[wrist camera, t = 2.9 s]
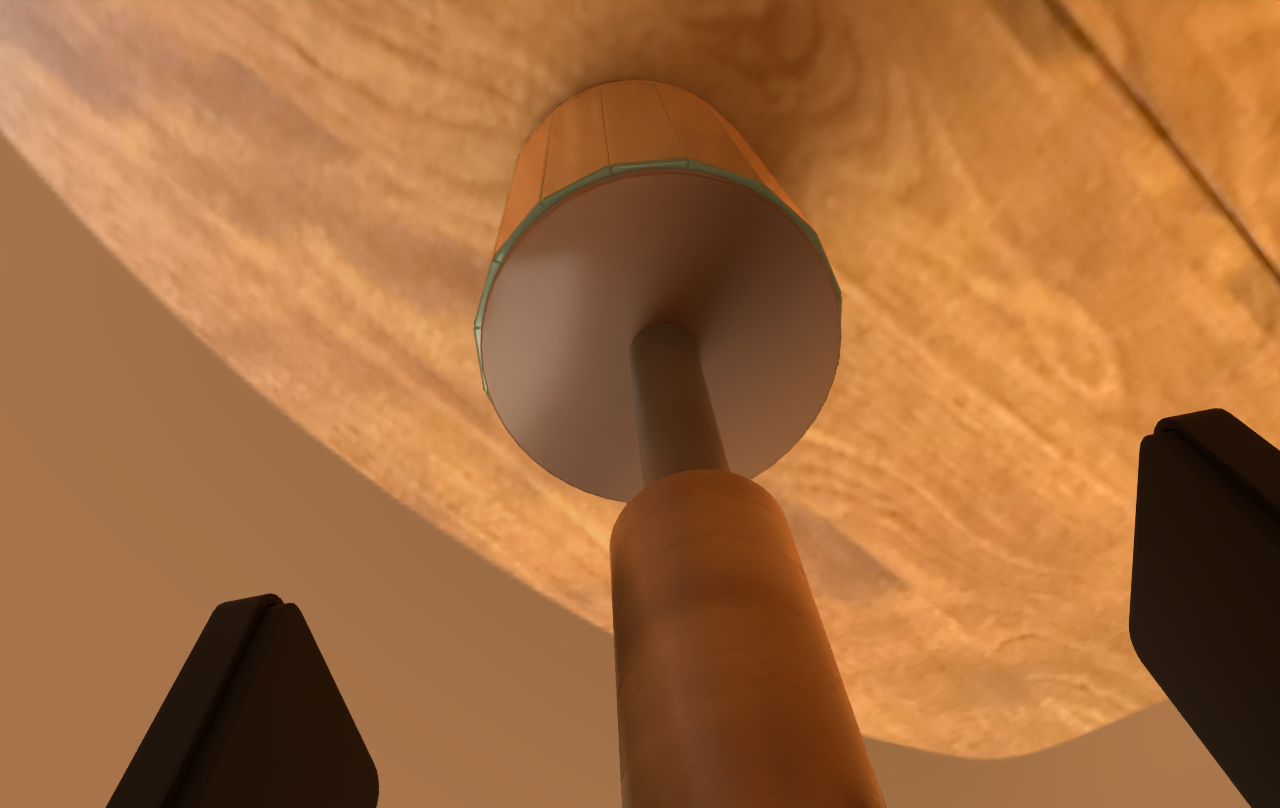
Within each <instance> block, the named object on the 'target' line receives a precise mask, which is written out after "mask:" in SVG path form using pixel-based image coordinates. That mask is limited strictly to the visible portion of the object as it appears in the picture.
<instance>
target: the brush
mask: <svg viewBox="0 0 1280 808" xmlns="http://www.w3.org/2000/svg"><path fill="white" fill-rule="evenodd" d="M840 346H841V315H840V310H839V304H838V298H837V294H836V291H835V288H834V285H833V282H832V279H831V276H830V273H829V271H828V269H827V267H826V265H825V263H824V261H823V259H822V257H821V255H820V253H819V252H818V251H817V249H816V248H815V246H814V245H813V244H812V242H811V241H810V239H809V238H808V237H807V235H806V234H805V232H804V231H803V230H802V229H801V228H800V226H799V225H798V224H797V223H796V222H795V221H794V220H793V219H792V218H791V217H790V216H789V215H788V214H787V213H786V212H785V211H784V210H782V209H781V208H780V207H778V206H777V205H776V204H775V203H773V202H772V201H771V200H770V199H768V198H767V197H765V196H763V195H761V194H760V193H758V192H756V191H755V190H753V189H751V188H749V187H748V186H745V185H743V184H740V183H738V182H736V181H733V180H731V179H728V178H726V177H722V176H719V175H715V174H711V173H707V172H703V171H697V170H689V169H680V168H649V169H642V170H635V171H629V172H623V173H620V174H616V175H613V176H609V177H606V178H602V179H599V180H597V181H595V182H592V183H590V184H588V185H585V186H583V187H581V188H579V189H576V190H575V191H573V192H571V193H570V194H568V195H566V196H565V197H563V198H561V199H560V200H558V201H557V202H555V203H554V204H553V205H551V206H550V207H549V208H548V209H546V210H545V211H544V212H543V213H541V214H540V215H539V216H538V217H536V218H535V219H534V220H533V221H532V223H531V224H530V225H529V226H528V227H527V228H526V229H525V230H524V231H523V232H522V233H521V234H520V235H519V237H518V238H517V239H516V241H515V242H514V244H513V245H512V246H511V248H510V249H509V250H508V252H507V253H506V255H505V257H504V259H503V260H502V262H501V264H500V266H499V268H498V270H497V272H496V274H495V276H494V279H493V282H492V285H491V287H490V290H489V293H488V296H487V299H486V304H485V309H484V314H483V319H482V324H481V338H480V352H481V363H482V371H483V375H484V379H485V383H486V388H487V391H488V394H489V396H490V399H491V401H492V404H493V406H494V409H495V411H496V413H497V414H498V416H499V418H500V420H501V421H502V423H503V425H504V427H505V428H506V430H507V431H508V432H509V434H510V435H511V436H512V438H513V439H514V440H515V442H516V443H517V444H518V445H519V446H520V447H521V448H522V449H523V450H524V451H525V452H526V453H527V454H528V455H529V456H530V457H531V458H532V459H533V460H534V461H535V462H536V463H537V464H539V465H540V466H541V467H543V468H544V469H545V470H546V471H548V472H549V473H550V474H552V475H554V476H555V477H557V478H559V479H560V480H562V481H564V482H565V483H567V484H569V485H571V486H573V487H576V488H578V489H580V490H582V491H585V492H587V493H590V494H593V495H596V496H600V497H603V498H606V499H610V500H615V501H621V502H626V503H628V504H627V505H626V506H625V507H624V509H623V510H622V512H621V513H620V515H619V516H618V519H617V521H616V523H615V525H614V528H613V531H612V534H611V540H610V566H611V587H612V608H613V629H614V649H615V670H616V690H617V711H618V731H619V754H620V775H621V795H622V808H886V805H885V802H884V799H883V797H882V794H881V791H880V788H879V785H878V782H877V779H876V776H875V774H874V771H873V768H872V765H871V762H870V759H869V756H868V753H867V750H866V748H865V745H864V742H863V739H862V736H861V733H860V730H859V727H858V725H857V722H856V719H855V716H854V713H853V710H852V707H851V704H850V702H849V699H848V696H847V693H846V690H845V687H844V684H843V681H842V679H841V676H840V673H839V670H838V667H837V664H836V661H835V658H834V655H833V653H832V650H831V647H830V644H829V641H828V638H827V635H826V632H825V630H824V627H823V624H822V621H821V618H820V615H819V612H818V609H817V607H816V604H815V601H814V598H813V595H812V592H811V589H810V586H809V584H808V581H807V578H806V575H805V572H804V569H803V566H802V563H801V560H800V558H799V555H798V552H797V549H796V546H795V543H794V540H793V537H792V535H791V532H790V529H789V526H788V523H787V520H786V518H785V515H784V513H783V511H782V509H781V507H780V506H779V504H778V503H777V501H776V500H775V499H774V498H773V497H772V495H771V494H770V493H768V492H767V491H766V490H765V489H764V488H763V487H761V486H760V485H758V484H756V483H755V482H753V481H752V480H751V479H753V478H754V477H756V476H757V475H759V474H760V473H762V472H763V471H765V470H766V469H768V468H769V467H771V466H772V465H773V464H775V463H776V462H777V461H778V460H779V459H781V458H782V457H783V456H784V455H785V454H786V453H788V452H789V451H790V450H791V449H792V447H793V446H794V445H795V444H796V443H797V442H798V441H799V440H800V439H801V438H802V437H803V435H804V434H805V433H806V431H807V430H808V429H809V427H810V426H811V425H812V423H813V422H814V420H815V419H816V417H817V415H818V414H819V412H820V410H821V408H822V406H823V405H824V403H825V401H826V399H827V396H828V394H829V391H830V389H831V386H832V384H833V381H834V378H835V374H836V370H837V366H838V362H839V356H840Z"/></svg>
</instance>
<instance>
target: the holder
mask: <svg viewBox="0 0 1280 808" xmlns="http://www.w3.org/2000/svg"><path fill="white" fill-rule="evenodd" d="M649 168H680V169H689V170H697V171H703V172H707V173H711V174H715V175H719V176H722V177H726V178H728V179H731V180H733V181H736V182H738V183H740V184H743V185H745V186H748V187H749V188H751V189H753V190H755V191H756V192H758V193H760V194H761V195H763V196H765V197H767V198H768V199H770V200H771V201H772V202H773V203H775V204H776V205H777V206H778V207H780V208H781V209H782V210H784V211H785V212H786V213H787V214H788V215H789V216H790V217H791V218H792V219H793V220H794V221H795V222H796V223H797V224H798V225H799V226H800V228H801V229H802V230H803V231H804V232H805V234H806V235H807V237H808V238H809V239H810V241H811V242H812V244H813V245H814V246H815V248H816V249H817V251H818V252H819V253H820V255H821V257H822V259H823V261H824V263H825V265H826V267H827V269H828V271H829V273H830V276H831V279H832V282H833V285H834V288H835V291H836V294H837V298H838V304H839V310H840V315H841V314H842V297H841V290H840V287H839V285H838V283H837V280H836V278H835V275H834V273H833V271H832V268H831V266H830V263H829V261H828V259H827V256H826V254H825V251H824V249H823V247H822V244H821V242H820V239H819V237H818V235H817V233H816V232H815V230H814V229H813V228H812V226H811V225H810V224H809V222H808V221H807V220H806V218H805V217H804V216H803V215H802V213H801V212H800V211H799V209H798V208H797V207H796V205H795V204H794V203H793V202H792V200H791V199H790V198H789V196H788V195H787V194H786V192H785V191H784V190H783V189H782V187H781V186H780V185H779V183H778V182H777V181H776V179H775V178H774V177H773V176H772V174H771V173H770V172H769V170H768V169H767V168H766V166H765V165H764V164H763V163H762V161H761V160H760V159H759V157H758V156H757V155H756V153H755V152H754V151H753V150H752V148H751V147H750V146H749V144H748V143H747V142H746V140H745V139H744V138H743V137H742V135H741V134H740V133H739V132H738V131H737V130H736V129H735V128H734V127H733V126H732V125H731V124H730V123H729V122H728V121H727V120H726V119H725V118H724V117H723V116H722V115H721V114H720V113H719V112H718V111H717V110H716V109H714V108H713V107H712V106H711V105H709V104H708V103H707V102H706V101H704V100H703V99H702V98H699V97H697V96H696V95H694V94H692V93H690V92H688V91H685V90H683V89H681V88H678V87H676V86H672V85H668V84H665V83H661V82H655V81H647V80H623V81H617V82H610V83H606V84H602V85H599V86H595V87H592V88H590V89H588V90H585V91H583V92H581V93H579V94H576V95H575V96H573V97H571V98H570V99H568V100H567V101H565V102H563V103H562V104H561V105H559V106H558V107H557V108H556V109H555V110H553V111H552V112H551V113H550V114H549V115H548V116H547V117H546V118H545V119H544V120H543V121H542V122H541V123H540V124H539V125H538V127H537V128H536V129H535V131H534V132H533V134H532V135H531V136H530V138H529V139H528V141H527V143H526V145H525V146H524V148H523V149H522V150H521V153H520V154H519V156H518V160H517V164H516V167H515V171H514V175H513V178H512V182H511V186H510V189H509V193H508V197H507V200H506V204H505V208H504V212H503V215H502V219H501V223H500V227H499V230H498V234H497V238H496V242H495V245H494V249H493V253H492V257H491V261H490V264H489V268H488V272H487V276H486V279H485V283H484V287H483V291H482V294H481V298H480V302H479V306H478V309H477V313H476V317H475V321H474V335H475V341H476V347H477V353H478V359H479V365H480V372H481V378H482V384H483V389H484V391H485V392H486V395H487V397H488V398H489V400H490V401H491V399H490V396H489V394H488V391H487V388H486V383H485V379H484V375H483V371H482V363H481V352H480V338H481V324H482V319H483V314H484V309H485V304H486V299H487V296H488V293H489V290H490V287H491V285H492V282H493V279H494V276H495V274H496V272H497V270H498V268H499V266H500V264H501V262H502V260H503V259H504V257H505V255H506V253H507V252H508V250H509V249H510V248H511V246H512V245H513V244H514V242H515V241H516V239H517V238H518V237H519V235H520V234H521V233H522V232H523V231H524V230H525V229H526V228H527V227H528V226H529V225H530V224H531V223H532V221H533V220H534V219H535V218H536V217H538V216H539V215H540V214H541V213H543V212H544V211H545V210H546V209H548V208H549V207H550V206H551V205H553V204H554V203H555V202H557V201H558V200H560V199H561V198H563V197H565V196H566V195H568V194H570V193H571V192H573V191H575V190H576V189H579V188H581V187H583V186H585V185H588V184H590V183H592V182H595V181H597V180H599V179H602V178H606V177H609V176H613V175H616V174H620V173H623V172H629V171H635V170H642V169H649ZM839 358H840V356H839ZM838 364H839V362H838ZM837 367H838V366H837ZM491 403H492V401H491Z"/></svg>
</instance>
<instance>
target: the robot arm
mask: <svg viewBox="0 0 1280 808" xmlns="http://www.w3.org/2000/svg"><path fill="white" fill-rule="evenodd" d="M1129 632H1130V637H1131V641H1132V644H1133V647H1134V649H1135V651H1136V653H1137V655H1138V657H1139V659H1140V660H1141V662H1142V663H1143V664H1144V666H1145V667H1146V668H1147V670H1148V671H1149V672H1150V674H1151V675H1152V676H1153V678H1154V679H1155V680H1156V682H1157V683H1158V684H1159V686H1160V687H1161V688H1162V690H1163V691H1164V692H1165V694H1166V695H1167V696H1168V698H1169V699H1170V700H1171V702H1172V703H1173V704H1174V706H1175V707H1176V708H1177V710H1178V711H1179V712H1180V713H1181V715H1182V716H1183V718H1184V719H1185V720H1186V721H1187V723H1188V724H1189V725H1190V727H1191V728H1192V729H1193V731H1194V732H1195V733H1196V735H1197V736H1198V737H1199V739H1200V740H1201V741H1202V743H1203V744H1204V745H1205V746H1206V748H1207V749H1208V751H1209V752H1210V753H1211V755H1212V756H1213V757H1214V759H1215V760H1216V761H1217V763H1218V764H1219V765H1220V767H1221V768H1222V769H1223V771H1224V772H1225V773H1226V774H1227V776H1228V777H1229V778H1230V780H1231V781H1232V783H1233V784H1234V785H1235V786H1236V788H1237V789H1238V790H1239V792H1240V793H1241V794H1242V796H1243V797H1244V798H1245V800H1246V801H1247V802H1248V804H1249V805H1250V806H1251V808H1280V451H1279V450H1278V449H1277V448H1275V447H1274V446H1273V445H1271V444H1270V443H1269V442H1268V441H1266V440H1265V439H1264V438H1262V437H1261V436H1260V435H1258V434H1257V433H1256V432H1254V431H1253V430H1252V429H1250V428H1249V427H1248V426H1246V425H1245V424H1244V423H1242V422H1241V421H1240V420H1238V419H1237V418H1236V417H1234V416H1233V415H1232V414H1231V413H1229V412H1227V411H1225V410H1223V409H1218V408H1214V409H1208V410H1203V411H1198V412H1193V413H1188V414H1183V415H1178V416H1173V417H1168V418H1163V419H1162V420H1160V421H1159V422H1158V423H1157V425H1156V427H1155V429H1154V434H1152V435H1147V436H1146V437H1144V438H1143V440H1142V442H1141V445H1140V452H1139V469H1138V485H1137V501H1136V517H1135V534H1134V550H1133V566H1132V582H1131V599H1130V615H1129ZM378 796H379V781H378V775H377V770H376V768H375V765H374V762H373V760H372V758H371V756H370V754H369V752H368V750H367V748H366V746H365V744H364V742H363V740H362V737H361V735H360V733H359V731H358V729H357V727H356V725H355V723H354V721H353V719H352V717H351V715H350V713H349V710H348V708H347V706H346V704H345V702H344V700H343V698H342V696H341V694H340V692H339V690H338V687H337V686H336V683H335V681H334V679H333V677H332V675H331V673H330V671H329V669H328V667H327V665H326V662H325V660H324V658H323V656H322V654H321V652H320V650H319V648H318V646H317V644H316V642H315V640H314V638H313V635H312V633H311V631H310V629H309V627H308V625H307V623H306V621H305V619H304V617H303V615H302V613H301V611H300V609H299V608H298V607H297V606H296V605H295V604H294V603H287V604H284V603H283V601H282V600H281V598H279V597H278V596H277V595H275V594H265V595H260V596H255V597H249V598H244V599H239V600H234V601H229V602H224V603H222V604H220V605H218V606H217V607H216V609H215V610H214V611H213V613H212V615H211V616H210V618H209V620H208V622H207V624H206V626H205V627H204V629H203V631H202V633H201V635H200V637H199V638H198V640H197V642H196V644H195V646H194V648H193V650H192V651H191V653H190V655H189V657H188V659H187V660H186V662H185V664H184V666H183V668H182V670H181V671H180V673H179V675H178V677H177V679H176V681H175V682H174V684H173V686H172V688H171V690H170V692H169V693H168V695H167V697H166V699H165V701H164V702H163V704H162V706H161V708H160V710H159V711H158V713H157V715H156V717H155V719H154V721H153V722H152V724H151V726H150V728H149V730H148V731H147V733H146V735H145V737H144V739H143V741H142V743H141V744H140V746H139V748H138V750H137V752H136V753H135V755H134V757H133V759H132V761H131V763H130V764H129V766H128V768H127V770H126V772H125V773H124V775H123V777H122V779H121V781H120V783H119V785H118V786H117V788H116V790H115V792H114V793H113V795H112V797H111V799H110V801H109V803H108V805H107V806H106V808H376V806H377V802H378Z"/></svg>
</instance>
